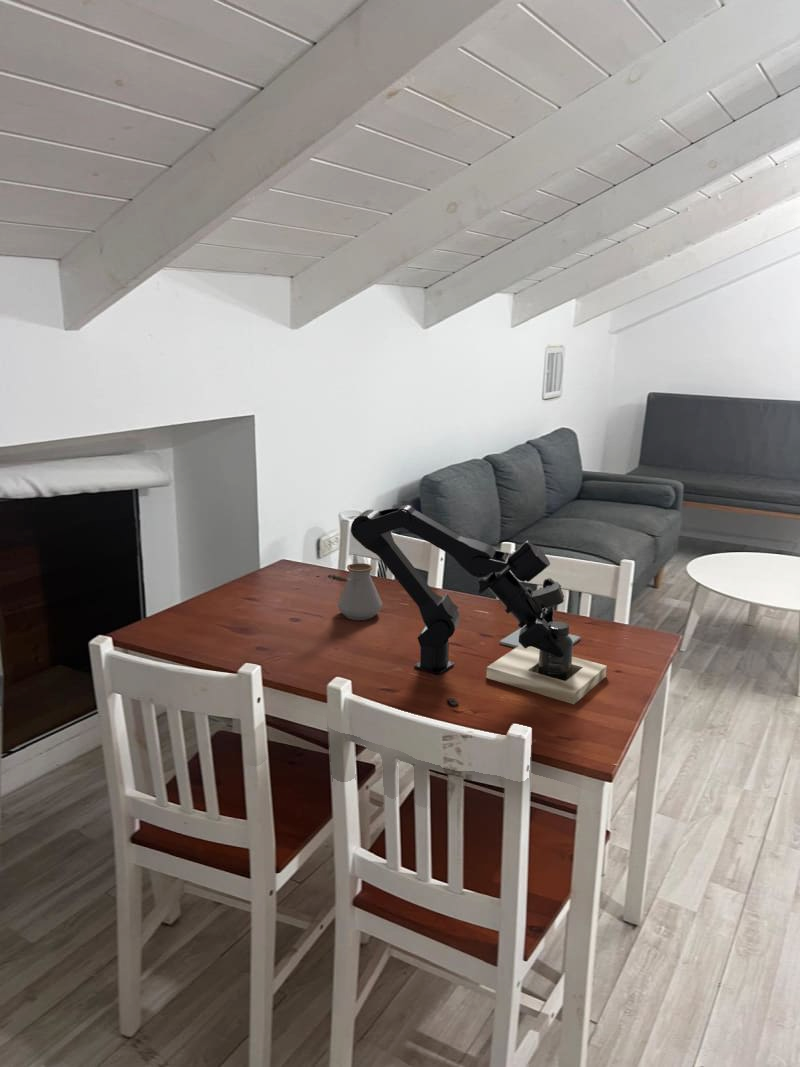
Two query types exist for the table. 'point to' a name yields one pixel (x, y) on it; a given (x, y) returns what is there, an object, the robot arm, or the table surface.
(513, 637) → the rubber mat
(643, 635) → the table surface
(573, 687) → the well board
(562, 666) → the supplement bottle
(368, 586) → the coffee pot
